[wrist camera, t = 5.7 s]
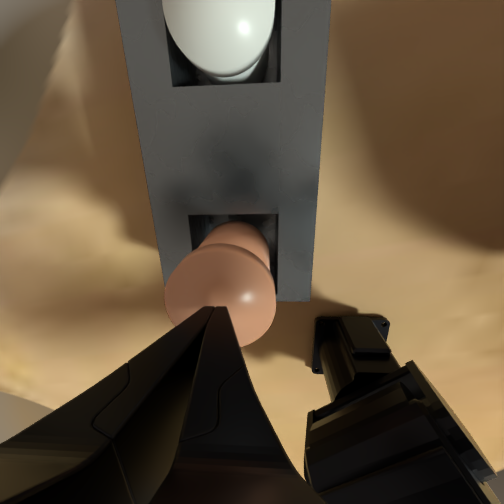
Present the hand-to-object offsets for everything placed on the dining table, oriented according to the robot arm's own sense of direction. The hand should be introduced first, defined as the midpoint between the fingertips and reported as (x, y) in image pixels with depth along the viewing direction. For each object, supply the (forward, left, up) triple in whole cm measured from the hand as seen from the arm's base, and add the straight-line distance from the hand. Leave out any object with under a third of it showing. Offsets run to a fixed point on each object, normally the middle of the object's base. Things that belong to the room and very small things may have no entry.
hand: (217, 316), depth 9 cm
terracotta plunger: (0, 0, -6) cm, 6 cm away
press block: (+6, 0, -12) cm, 13 cm away
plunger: (+11, 0, -10) cm, 15 cm away
